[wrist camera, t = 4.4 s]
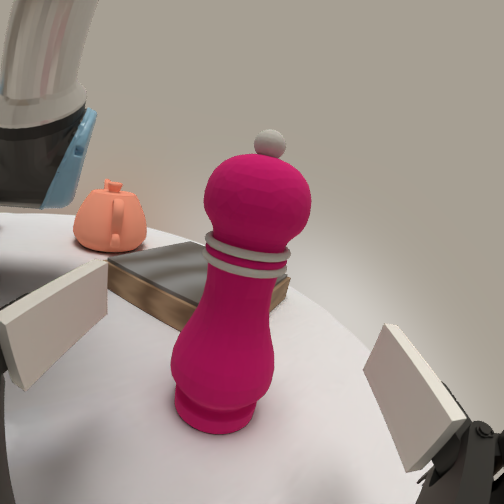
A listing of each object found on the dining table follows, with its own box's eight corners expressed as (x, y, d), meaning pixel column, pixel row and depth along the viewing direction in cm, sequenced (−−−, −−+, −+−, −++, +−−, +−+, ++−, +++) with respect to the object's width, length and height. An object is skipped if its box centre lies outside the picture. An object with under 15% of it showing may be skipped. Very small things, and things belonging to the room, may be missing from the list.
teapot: (72, 228, 55) (77, 175, 52) (132, 230, 64) (138, 180, 61) (73, 261, 38) (78, 184, 35) (157, 261, 48) (167, 192, 45)
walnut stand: (101, 284, 34) (102, 257, 33) (186, 260, 52) (189, 240, 51) (224, 353, 27) (231, 320, 26) (285, 297, 45) (291, 275, 44)
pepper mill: (157, 381, 20) (192, 119, 15) (233, 371, 24) (285, 146, 19) (187, 449, 14) (249, 101, 10) (275, 425, 18) (363, 151, 13)
